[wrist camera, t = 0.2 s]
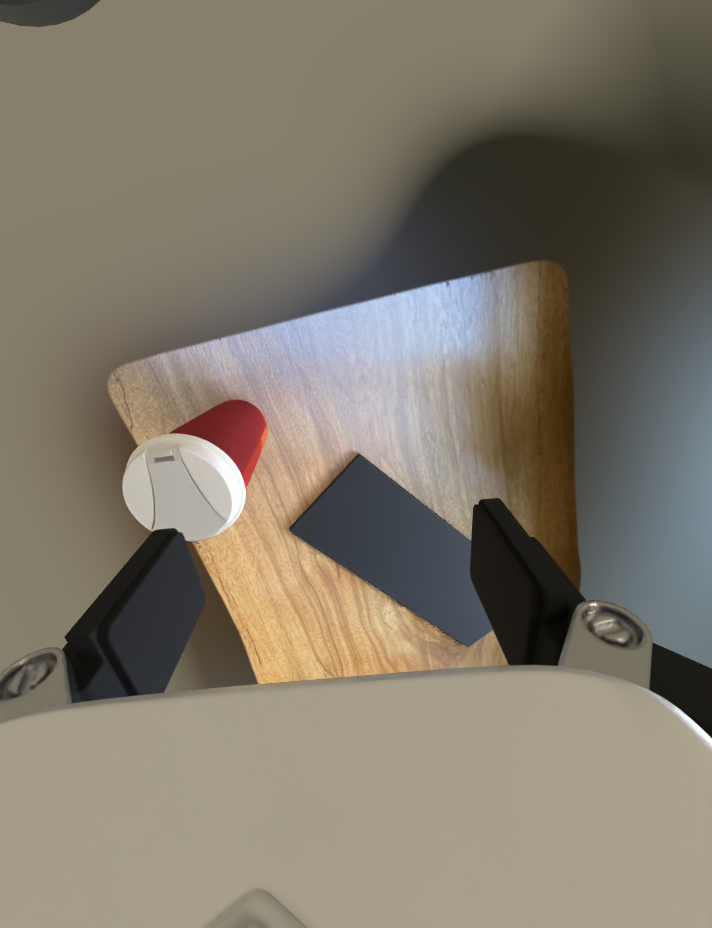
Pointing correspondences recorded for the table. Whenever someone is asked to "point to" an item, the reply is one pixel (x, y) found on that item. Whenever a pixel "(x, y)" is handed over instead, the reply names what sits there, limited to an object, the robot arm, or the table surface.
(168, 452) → the paper cup
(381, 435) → the table surface
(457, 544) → the mat
